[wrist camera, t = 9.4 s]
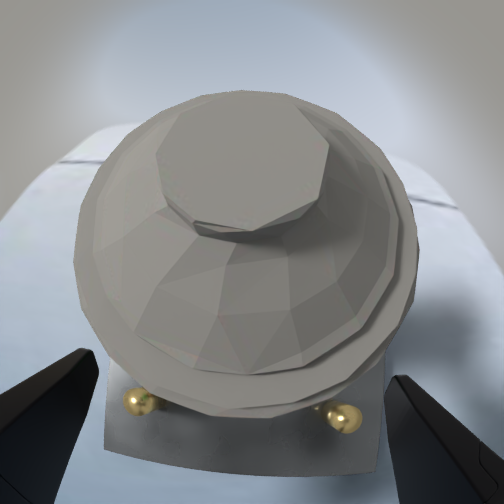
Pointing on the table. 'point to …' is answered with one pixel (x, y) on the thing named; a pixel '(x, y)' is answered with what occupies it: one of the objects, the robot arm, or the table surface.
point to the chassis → (249, 432)
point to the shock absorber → (246, 254)
